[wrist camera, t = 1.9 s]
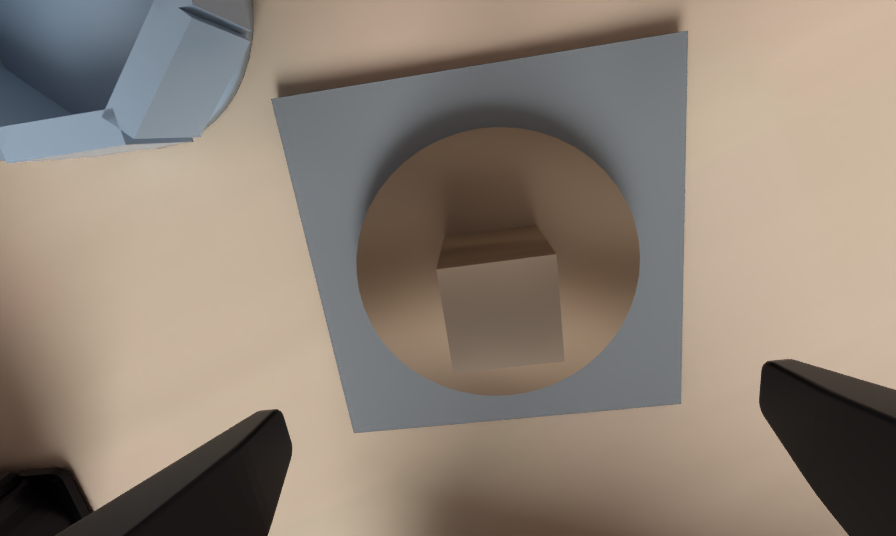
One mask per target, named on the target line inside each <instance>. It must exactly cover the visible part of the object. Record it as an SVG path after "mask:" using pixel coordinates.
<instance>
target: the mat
mask: <svg viewBox="0 0 896 536" xmlns="http://www.w3.org/2000/svg"><path fill="white" fill-rule="evenodd" d="M687 52H688V31H684V32H677V33H671V34H665V35H659V36H653V37H647V38H641V39H635V40H629V41H622V42H616V43H610V44H604V45H598V46H592V47H586V48H580V49H574V50H567V51H561V52H555V53H549V54H543V55H537V56H531V57H525V58H519V59H512V60H506V61H500V62H494V63H488V64H482V65H476V66H470V67H464V68H457V69H451V70H445V71H439V72H433V73H427V74H421V75H415V76H409V77H402V78H396V79H390V80H384V81H378V82H372V83H366V84H360V85H354V86H347V87H341V88H335V89H329V90H323V91H317V92H311V93H305V94H299V95H292V96H286V97H280V98H274V99H271V100H272V104H273V108H274V112H275V116H276V121H277V125H278V129H279V133H280V137H281V141H282V145H283V149H284V153H285V157H286V161H287V165H288V169H289V173H290V177H291V181H292V185H293V189H294V193H295V197H296V201H297V205H298V209H299V213H300V217H301V221H302V225H303V230H304V234H305V238H306V242H307V246H308V250H309V254H310V258H311V262H312V266H313V270H314V274H315V278H316V282H317V286H318V290H319V294H320V298H321V302H322V306H323V310H324V314H325V318H326V322H327V326H328V330H329V334H330V338H331V343H332V347H333V351H334V355H335V359H336V363H337V367H338V371H339V375H340V379H341V383H342V387H343V391H344V395H345V399H346V403H347V407H348V411H349V415H350V419H351V423H352V427H353V431H354V433H361V432H372V431H384V430H395V429H406V428H417V427H428V426H439V425H451V424H462V423H473V422H484V421H495V420H506V419H518V418H529V417H540V416H551V415H562V414H573V413H585V412H596V411H607V410H618V409H629V408H640V407H652V406H663V405H674V404H681V367H682V315H683V262H684V210H685V157H686V105H687ZM491 127H508V128H521V129H526V130H531V131H537V132H540V133H543V134H546V135H549V136H552V137H555V138H558V139H560V140H562V141H564V142H566V143H568V144H570V145H572V146H574V147H576V148H577V149H579V150H580V151H581V152H583V153H584V154H586V155H587V156H589V157H590V158H591V159H593V160H594V161H595V162H596V163H597V164H598V165H599V166H600V167H601V168H602V169H603V170H604V171H605V172H606V173H607V174H608V175H609V177H610V178H611V179H612V180H613V182H614V183H615V184H616V185H617V187H618V188H619V190H620V192H621V193H622V195H623V197H624V199H625V200H626V202H627V204H628V206H629V209H630V211H631V214H632V216H633V219H634V222H635V226H636V230H637V234H638V239H639V250H640V269H639V278H638V283H637V288H636V293H635V296H634V299H633V302H632V305H631V308H630V310H629V312H628V314H627V316H626V318H625V320H624V322H623V324H622V326H621V327H620V329H619V330H618V332H617V333H616V335H615V336H614V338H613V339H612V340H611V341H610V343H609V344H608V345H607V346H606V347H605V348H604V349H603V351H602V352H601V353H600V354H599V355H597V356H596V357H595V358H594V359H593V360H592V361H591V362H590V363H589V364H587V365H586V366H584V367H583V368H582V369H580V370H579V371H577V372H576V373H574V374H573V375H571V376H569V377H567V378H565V379H563V380H561V381H560V382H557V383H555V384H552V385H550V386H547V387H545V388H542V389H538V390H534V391H531V392H527V393H521V394H514V395H501V396H489V395H476V394H471V393H465V392H460V391H457V390H454V389H450V388H447V387H444V386H442V385H439V384H437V383H435V382H433V381H430V380H428V379H427V378H425V377H423V376H421V375H420V374H418V373H416V372H415V371H413V370H412V369H411V368H409V367H408V366H407V365H405V364H404V363H403V362H402V361H401V360H400V359H399V358H397V357H396V356H395V355H394V354H393V353H392V352H391V351H390V350H389V348H388V347H387V346H386V345H385V343H384V342H383V341H382V340H381V338H380V337H379V335H378V334H377V332H376V331H375V329H374V327H373V326H372V324H371V322H370V320H369V318H368V315H367V313H366V311H365V309H364V306H363V302H362V299H361V296H360V292H359V286H358V280H357V265H356V256H357V248H358V240H359V236H360V232H361V228H362V224H363V221H364V219H365V217H366V214H367V212H368V209H369V207H370V205H371V203H372V202H373V200H374V198H375V196H376V195H377V193H378V191H379V190H380V188H381V187H382V186H383V185H384V183H385V182H386V181H387V179H388V178H389V177H390V176H391V175H392V174H393V173H394V172H395V171H396V170H397V169H398V168H399V167H400V166H401V165H402V164H403V163H404V162H405V161H406V160H408V159H409V158H411V157H412V156H413V155H415V154H416V153H417V152H419V151H420V150H422V149H424V148H425V147H427V146H429V145H431V144H433V143H435V142H437V141H438V140H441V139H444V138H446V137H449V136H452V135H454V134H457V133H460V132H465V131H469V130H473V129H479V128H491Z"/></svg>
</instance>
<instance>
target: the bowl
mask: <svg viewBox="0 0 896 536" xmlns="http://www.w3.org/2000/svg"><path fill="white" fill-rule="evenodd" d="M252 39H253V5H252V0H0V161H2V160H6V162H7V164H9V163H22V162H36V161H49V160H63V159H76V158H90V157H100V156H106V155H112V154H119V153H125V152H131V151H138V150H148V149H160V148H164V147H168V146H172V145H176V144H182V143H189V142H193V138H192V137H200V136H201V134H202V133H203V131H204V130H205V129H206V128H207V127H209V126H210V125H211V124H212V123H213V122H214V121H216V120H217V119H218V117H219V116H220V115H221V114H222V113H223V112H224V110H225V109H226V108H227V107H228V105H229V104H230V102H231V101H232V99H233V97H234V96H235V94H236V93H237V91H238V88H239V86H240V84H241V82H242V79H243V77H244V74H245V71H246V68H247V64H248V61H249V57H250V51H251V45H252Z"/></svg>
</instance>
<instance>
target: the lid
mask: <svg viewBox="0 0 896 536" xmlns="http://www.w3.org/2000/svg"><path fill="white" fill-rule="evenodd" d="M356 265H357V280H358V286H359V292H360V296H361V299H362V302H363V306H364V309H365V311H366V313H367V315H368V318H369V320H370V322H371V324H372V326H373V327H374V329H375V331H376V332H377V334H378V335H379V337H380V338H381V340H382V341H383V342H384V343H385V345H386V346H387V347H388V348H389V350H390V351H391V352H392V353H393V354H394V355H395V356H396V357H397V358H399V359H400V360H401V361H402V362H403V363H404V364H405V365H407V366H408V367H409V368H411V369H412V370H413V371H415V372H416V373H418V374H420V375H421V376H423V377H425V378H427V379H428V380H430V381H433V382H435V383H437V384H439V385H442V386H444V387H447V388H450V389H454V390H457V391H460V392H465V393H471V394H476V395H489V396H501V395H514V394H521V393H527V392H531V391H534V390H538V389H542V388H545V387H547V386H550V385H552V384H555V383H557V382H560V381H561V380H563V379H565V378H567V377H569V376H571V375H573V374H574V373H576V372H577V371H579V370H580V369H582V368H583V367H584V366H586V365H587V364H589V363H590V362H591V361H592V360H593V359H594V358H595V357H596V356H597V355H599V354H600V353H601V352H602V351H603V349H604V348H605V347H606V346H607V345H608V344H609V343H610V341H611V340H612V339H613V338H614V336H615V335H616V333H617V332H618V330H619V329H620V327H621V326H622V324H623V322H624V320H625V318H626V316H627V314H628V312H629V310H630V308H631V305H632V302H633V299H634V296H635V293H636V288H637V283H638V278H639V269H640V250H639V239H638V234H637V230H636V226H635V222H634V219H633V216H632V214H631V211H630V209H629V206H628V204H627V202H626V200H625V199H624V197H623V195H622V193H621V192H620V190H619V188H618V187H617V185H616V184H615V183H614V182H613V180H612V179H611V178H610V177H609V175H608V174H607V173H606V172H605V171H604V170H603V169H602V168H601V167H600V166H599V165H598V164H597V163H596V162H595V161H594V160H593V159H591V158H590V157H589V156H587V155H586V154H584V153H583V152H581V151H580V150H579V149H577V148H576V147H574V146H572V145H570V144H568V143H566V142H564V141H562V140H560V139H558V138H555V137H552V136H549V135H546V134H543V133H540V132H537V131H531V130H526V129H521V128H508V127H491V128H479V129H473V130H469V131H465V132H460V133H457V134H454V135H452V136H449V137H446V138H444V139H441V140H438V141H437V142H435V143H433V144H431V145H429V146H427V147H425V148H424V149H422V150H420V151H419V152H417V153H416V154H415V155H413V156H412V157H411V158H409V159H408V160H406V161H405V162H404V163H403V164H402V165H401V166H400V167H399V168H398V169H397V170H396V171H395V172H394V173H393V174H392V175H391V176H390V177H389V178H388V179H387V181H386V182H385V183H384V185H383V186H382V187H381V188H380V190H379V191H378V193H377V195H376V196H375V198H374V200H373V202H372V203H371V205H370V207H369V209H368V212H367V214H366V217H365V219H364V221H363V224H362V228H361V232H360V236H359V240H358V248H357V256H356Z"/></svg>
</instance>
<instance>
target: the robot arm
mask: <svg viewBox="0 0 896 536" xmlns="http://www.w3.org/2000/svg"><path fill="white" fill-rule="evenodd" d="M759 404H760V408H761V411H762V414H763V415H764V417H765V419H766V420H767V422H768V423H769V425H770V426H771V428H772V429H773V431H774V432H775V434H776V435H777V437H778V438H779V440H780V441H781V443H782V444H783V446H784V447H785V449H786V450H787V452H788V453H789V455H790V456H791V458H792V459H793V461H794V462H795V464H796V465H797V467H798V468H799V470H800V471H801V473H802V474H803V476H804V477H805V479H806V480H807V482H808V483H809V485H810V486H811V487H812V489H813V490H814V492H815V493H816V494H817V496H818V497H819V498H820V500H821V501H822V502H823V504H824V505H825V506H826V507H827V509H828V510H829V511H830V513H831V514H832V515H833V516H834V518H835V519H836V520H837V521H838V522H839V524H840V525H841V526H842V527H843V529H844V530H845V531H846V532H847V534H848V535H849V536H896V390H894V389H891V388H887V387H884V386H880V385H877V384H874V383H870V382H867V381H864V380H860V379H857V378H854V377H850V376H847V375H843V374H840V373H837V372H833V371H830V370H827V369H823V368H820V367H816V366H813V365H810V364H806V363H803V362H800V361H796V360H792V359H784V360H774V361H768V362H766V363H765V364H764V365H763V367H762V371H761V384H760V396H759ZM291 456H292V443H291V439H290V436H289V433H288V429H287V426H286V423H285V419H284V416H283V414H282V412H281V411H279V410H278V409H273V410H262V411H258V412H256V413H254V414H253V415H251V416H249V417H248V418H246V419H244V420H243V421H241V422H239V423H238V424H236V425H235V426H233V427H231V428H230V429H228V430H226V431H225V432H223V433H222V434H220V435H218V436H217V437H215V438H213V439H212V440H210V441H208V442H207V443H205V444H204V445H202V446H200V447H199V448H197V449H195V450H194V451H192V452H191V453H189V454H187V455H186V456H184V457H182V458H181V459H179V460H177V461H176V462H174V463H173V464H171V465H169V466H168V467H166V468H164V469H163V470H161V471H159V472H158V473H156V474H155V475H153V476H151V477H150V478H148V479H146V480H145V481H143V482H142V483H140V484H138V485H137V486H135V487H133V488H132V489H130V490H128V491H127V492H125V493H124V494H122V495H120V496H119V497H117V498H115V499H114V500H112V501H111V502H109V503H107V504H106V505H104V506H102V507H101V508H99V509H97V510H96V511H94V512H93V513H91V514H90V513H89V511H88V509H87V507H86V505H85V503H84V501H83V499H82V497H81V495H80V493H79V491H78V489H77V487H76V485H75V483H74V481H73V479H72V477H71V475H70V473H69V472H68V471H66V470H65V469H63V468H46V469H35V470H23V471H12V472H0V536H268V533H269V530H270V527H271V524H272V521H273V517H274V514H275V511H276V507H277V504H278V500H279V497H280V494H281V490H282V487H283V484H284V480H285V477H286V473H287V470H288V467H289V463H290V460H291Z"/></svg>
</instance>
